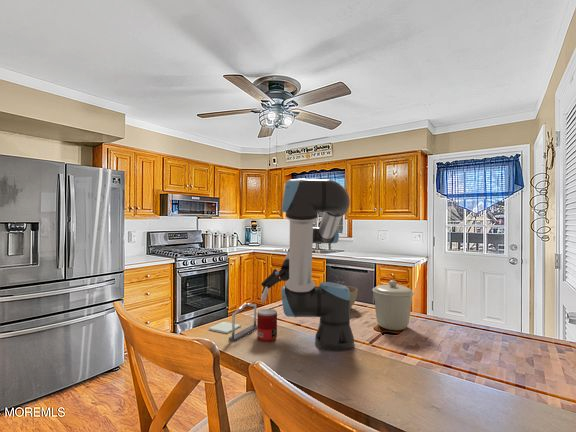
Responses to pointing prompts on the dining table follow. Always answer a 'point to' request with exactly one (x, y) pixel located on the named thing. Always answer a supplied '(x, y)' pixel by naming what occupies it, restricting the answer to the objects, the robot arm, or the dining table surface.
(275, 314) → the canned food
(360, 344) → the dining table surface
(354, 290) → the planter bowl
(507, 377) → the dining table surface
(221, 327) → the sage mat
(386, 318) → the canister
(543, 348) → the dining table surface
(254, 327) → the metal handle
